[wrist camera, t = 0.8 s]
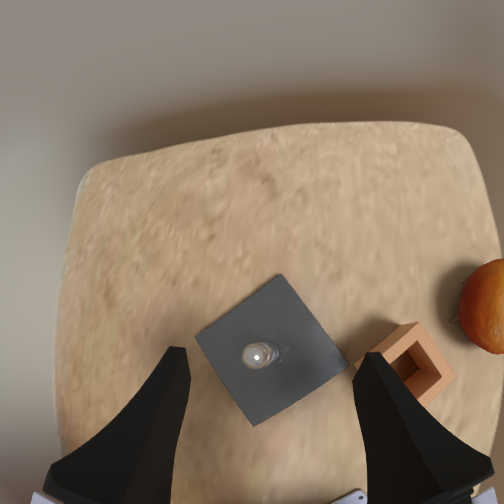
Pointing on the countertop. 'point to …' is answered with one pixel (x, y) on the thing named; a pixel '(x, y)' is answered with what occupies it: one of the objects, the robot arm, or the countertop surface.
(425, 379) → the collar
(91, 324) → the countertop surface
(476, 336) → the fruit
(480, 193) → the countertop surface
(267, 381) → the post base
